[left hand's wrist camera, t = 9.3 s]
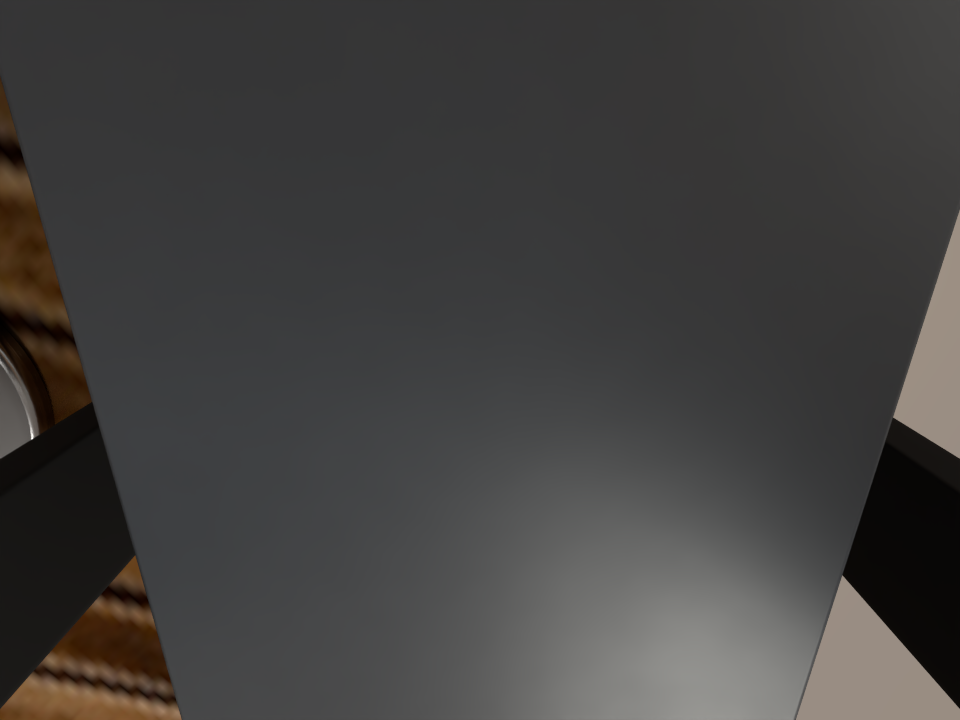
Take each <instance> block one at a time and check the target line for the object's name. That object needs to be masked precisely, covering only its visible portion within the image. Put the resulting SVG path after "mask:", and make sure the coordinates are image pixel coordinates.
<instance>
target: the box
mask: <svg viewBox="0 0 960 720" xmlns="http://www.w3.org/2000/svg"><path fill="white" fill-rule="evenodd" d="M0 76H1V80H2V83H3V87H4V91H5V94H6V98H7V101H8V105H9V108H10V112H11V115H12V119H13V122H14V126H15V130H16V133H17V137H18V140H19V144H20V147H21V151H22V154H23V158H24V161H25V165H26V169H27V172H28V176H29V179H30V183H31V186H32V190H33V193H34V197H35V200H36V204H37V208H38V211H39V215H40V218H41V222H42V225H43V229H44V232H45V236H46V239H47V243H48V247H49V250H50V254H51V257H52V261H53V264H54V268H55V271H56V275H57V278H58V282H59V286H60V289H61V293H62V296H63V300H64V303H65V307H66V310H67V314H68V317H69V321H70V325H71V328H72V332H73V335H74V339H75V342H76V346H77V349H78V353H79V356H80V360H81V364H82V367H83V371H84V374H85V378H86V381H87V385H88V388H89V392H90V395H91V399H92V403H93V406H94V410H95V413H96V417H97V420H98V424H99V427H100V431H101V434H102V438H103V442H104V445H105V449H106V452H107V456H108V459H109V463H110V466H111V470H112V473H113V477H114V481H115V484H116V488H117V491H118V495H119V498H120V502H121V505H122V509H123V512H124V516H125V520H126V523H127V527H128V530H129V534H130V537H131V541H132V544H133V548H134V551H135V555H136V559H137V562H138V566H139V569H140V573H141V576H142V580H143V583H144V587H145V590H146V594H147V598H148V601H149V605H150V608H151V612H152V615H153V619H154V622H155V626H156V629H157V633H158V637H159V640H160V644H161V647H162V651H163V654H164V658H165V661H166V665H167V668H168V672H169V676H170V679H171V683H172V686H173V690H174V693H175V697H176V700H177V704H178V707H179V711H180V715H181V718H182V720H796V717H797V714H798V711H799V708H800V705H801V702H802V699H803V695H804V692H805V689H806V686H807V683H808V680H809V677H810V674H811V671H812V667H813V664H814V661H815V658H816V655H817V652H818V649H819V646H820V643H821V639H822V636H823V633H824V630H825V627H826V624H827V621H828V618H829V615H830V611H831V608H832V605H833V602H834V599H835V596H836V593H837V590H838V586H839V583H840V580H841V577H842V574H843V571H844V568H845V565H846V562H847V559H848V555H849V552H850V549H851V546H852V543H853V540H854V537H855V534H856V531H857V527H858V524H859V521H860V518H861V515H862V512H863V509H864V506H865V503H866V499H867V496H868V493H869V490H870V487H871V484H872V481H873V478H874V475H875V471H876V468H877V465H878V462H879V459H880V456H881V453H882V450H883V447H884V443H885V440H886V437H887V434H888V431H889V428H890V425H891V422H892V419H893V415H894V412H895V409H896V406H897V403H898V400H899V397H900V394H901V390H902V387H903V384H904V381H905V378H906V375H907V372H908V369H909V366H910V362H911V359H912V356H913V353H914V350H915V347H916V344H917V341H918V338H919V335H920V331H921V328H922V325H923V322H924V319H925V316H926V313H927V310H928V307H929V303H930V300H931V297H932V294H933V291H934V288H935V285H936V282H937V279H938V275H939V272H940V269H941V266H942V263H943V260H944V257H945V254H946V251H947V247H948V244H949V241H950V238H951V235H952V232H953V229H954V225H955V222H956V219H957V216H958V213H959V210H960V0H0Z"/></svg>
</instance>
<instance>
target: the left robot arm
mask: <svg viewBox="0 0 960 720" xmlns="http://www.w3.org/2000/svg"><path fill="white" fill-rule="evenodd" d="M134 556H135V551H134V548H133V544H132V541H131V537H130V534H129V530H128V527H127V523H126V520H125V516H124V512H123V509H122V505H121V502H120V498H119V495H118V491H117V488H116V484H115V481H114V477H113V473H112V470H111V466H110V463H109V459H108V456H107V452H106V449H105V445H104V442H103V438H102V434H101V431H100V427H99V424H98V420H97V417H96V413H95V410H94V406H93V403H92V402H91V403H90V404H88V405H87V406H85V407H83V408H82V409H80V410H78V411H77V412H75V413H74V414H72V415H70V416H69V417H67V418H65V419H64V420H62V421H61V422H59V423H57V424H56V425H54V416H53V411H52V406H51V403H50V399H49V396H48V393H47V391H46V388H45V386H44V383H43V381H42V379H41V377H40V375H39V373H38V371H37V370H36V368H35V366H34V365H33V363H32V361H31V360H30V358H29V357H28V355H27V354H26V353H25V351H24V350H23V349H22V347H21V346H20V345H19V344H18V342H17V341H16V340H15V339H14V338H13V336H12V335H11V334H10V333H9V332H8V331H7V330H6V329H5V328H4V327H3V326H2V325H1V324H0V708H1V707H2V706H3V705H4V704H5V703H6V702H7V700H8V699H9V698H10V697H11V696H12V695H13V694H14V692H15V691H16V690H17V689H18V688H19V687H20V686H21V684H22V683H23V682H24V681H25V680H26V679H27V678H28V677H29V675H30V674H31V673H32V672H33V671H34V670H35V669H36V667H37V666H38V665H39V664H40V663H41V662H42V661H43V659H44V658H45V657H46V656H47V655H48V654H49V653H50V651H51V650H52V649H53V648H54V647H55V646H56V645H57V643H58V642H59V641H60V640H61V639H62V638H63V637H64V636H65V634H66V633H67V632H68V631H69V630H70V629H71V628H72V626H73V625H74V624H75V623H76V622H77V621H78V620H79V618H80V617H81V616H82V615H83V614H84V613H85V612H86V610H87V609H88V608H89V607H90V606H91V605H92V604H93V603H94V601H95V600H96V599H97V598H98V597H99V596H100V595H101V593H102V592H103V591H104V590H105V589H106V588H107V587H108V585H109V584H110V583H111V582H112V581H113V580H114V579H115V577H116V576H117V575H118V574H119V573H120V572H121V571H122V569H123V568H124V567H125V566H126V565H127V564H128V563H129V562H130V560H131V559H132V558H133V557H134ZM842 575H843V576H844V577H845V579H846V580H847V581H848V582H849V583H850V584H851V585H852V587H853V588H854V589H855V590H856V591H857V592H858V593H859V595H860V596H861V597H862V598H863V599H864V600H865V601H866V603H867V604H868V605H869V606H870V607H871V608H872V609H873V610H874V612H875V613H876V614H877V615H878V616H879V617H880V618H881V619H882V621H883V622H884V623H885V624H886V625H887V626H888V628H889V629H890V630H891V631H892V632H893V633H894V634H895V636H896V637H897V638H898V639H899V640H900V641H901V642H902V643H903V645H904V646H905V647H906V648H907V649H908V650H909V651H910V653H911V654H912V655H913V656H914V657H915V658H916V659H917V661H918V662H919V663H920V664H921V665H922V666H923V667H924V669H925V670H926V671H927V672H928V673H929V674H930V675H931V676H932V678H933V679H934V680H935V681H936V682H937V683H938V684H939V686H940V687H941V688H942V689H943V690H944V691H945V692H946V693H947V695H948V696H949V697H950V698H951V699H952V700H953V702H954V703H955V704H956V705H957V706H958V707H959V708H960V459H959V458H958V457H956V456H954V455H953V454H951V453H950V452H948V451H946V450H945V449H943V448H941V447H940V446H938V445H937V444H935V443H933V442H932V441H930V440H928V439H927V438H925V437H924V436H922V435H920V434H919V433H917V432H916V431H914V430H912V429H911V428H909V427H907V426H906V425H904V424H903V423H901V422H899V421H898V420H896V419H895V418H893V419H892V422H891V425H890V428H889V431H888V434H887V437H886V440H885V443H884V447H883V450H882V453H881V456H880V459H879V462H878V465H877V468H876V471H875V475H874V478H873V481H872V484H871V487H870V490H869V493H868V496H867V499H866V503H865V506H864V509H863V512H862V515H861V518H860V521H859V524H858V527H857V531H856V534H855V537H854V540H853V543H852V546H851V549H850V552H849V555H848V559H847V562H846V565H845V568H844V571H843V574H842Z"/></svg>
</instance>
